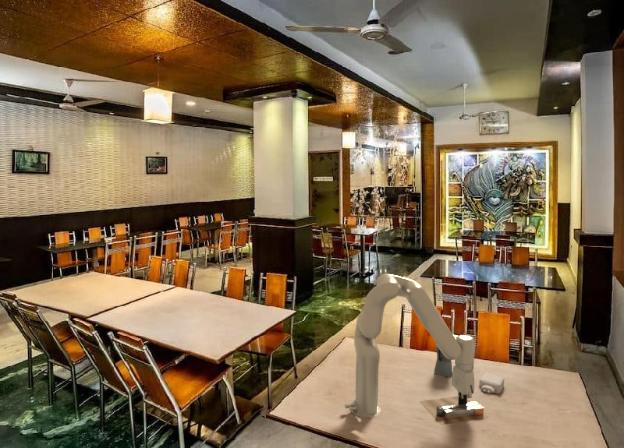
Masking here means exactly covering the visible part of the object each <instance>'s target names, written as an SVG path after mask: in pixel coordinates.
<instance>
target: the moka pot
mask: <svg viewBox="0 0 624 448" xmlns="http://www.w3.org/2000/svg"><path fill="white" fill-rule="evenodd" d="M435 345H436V344H435ZM435 361H436V362H435V365H434V370H433V372H434V374H435V375H439V376H441V377H443V378H450V377H452V372H453V365H452V364H453V363H452V361H453V360H450V359H447V358H446V357H445V356H444V355H443V353H442V352H441V351H440V350H439V348H438V347H437V345H436V360H435Z"/></svg>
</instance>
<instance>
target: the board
mask: <svg viewBox="0 0 624 448" xmlns="http://www.w3.org/2000/svg"><path fill="white" fill-rule="evenodd" d="M458 397H459V396H458V395H455V396H450V397H443V398H435V399H428V400H421V401H418V402H419V403H420V404H421V405H422V407H424V408H425V409H426V410H427V411H428V413H429V414H430V415H431V416H432V417H433V418H434V419H435V420H436V421H437V422H438V423H439V424H440V425H448V424H455V423H460V422H461V423H463V422H468V421H473V420H481V419H486V418H489V416H488V415H487V414H485V413H484V414H483V415H477V416H475V415H471V416H464V417H458V418H451V419H446V418H445V417H444V416H443V417H439V416H437V415H436V410H437V407H438V406H440V407H444V406H452V405H458ZM468 402H471V401H470V400H469V398H467V404H468Z"/></svg>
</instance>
